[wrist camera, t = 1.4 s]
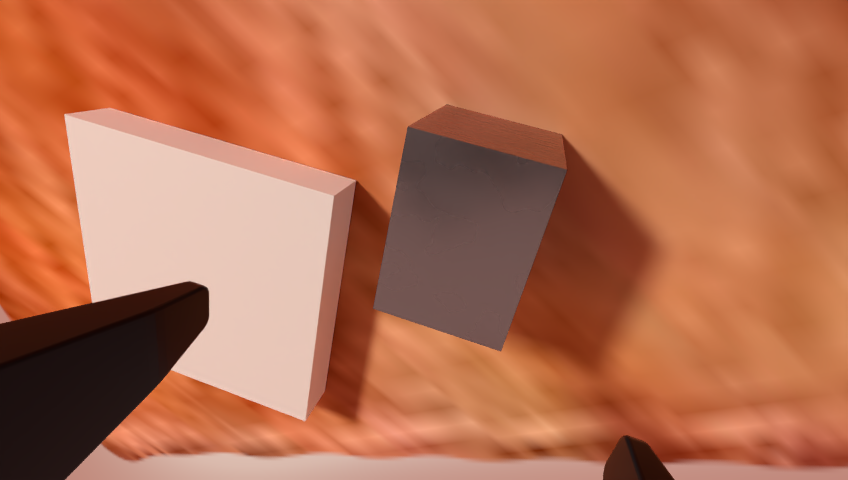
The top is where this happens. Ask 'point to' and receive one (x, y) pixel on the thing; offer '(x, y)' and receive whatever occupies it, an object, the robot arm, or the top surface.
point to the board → (218, 247)
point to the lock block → (468, 222)
